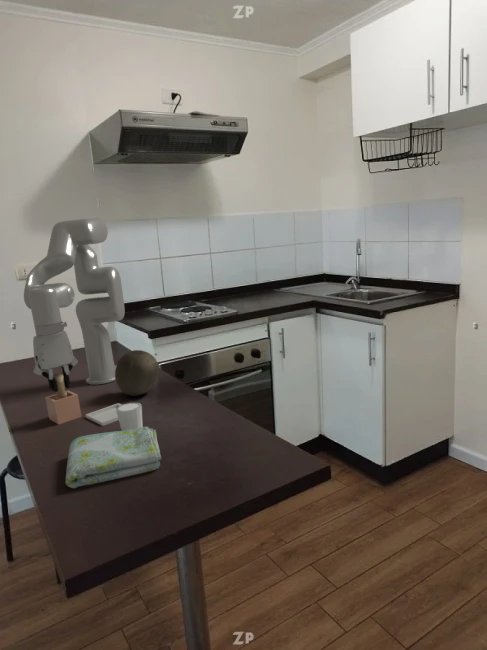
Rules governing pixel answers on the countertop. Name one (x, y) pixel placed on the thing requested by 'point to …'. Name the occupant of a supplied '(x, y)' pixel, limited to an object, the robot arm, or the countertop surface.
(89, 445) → the towel
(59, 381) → the dowel
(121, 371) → the cantaloupe
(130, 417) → the shot glass
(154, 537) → the countertop surface
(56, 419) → the cup
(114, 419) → the tray
